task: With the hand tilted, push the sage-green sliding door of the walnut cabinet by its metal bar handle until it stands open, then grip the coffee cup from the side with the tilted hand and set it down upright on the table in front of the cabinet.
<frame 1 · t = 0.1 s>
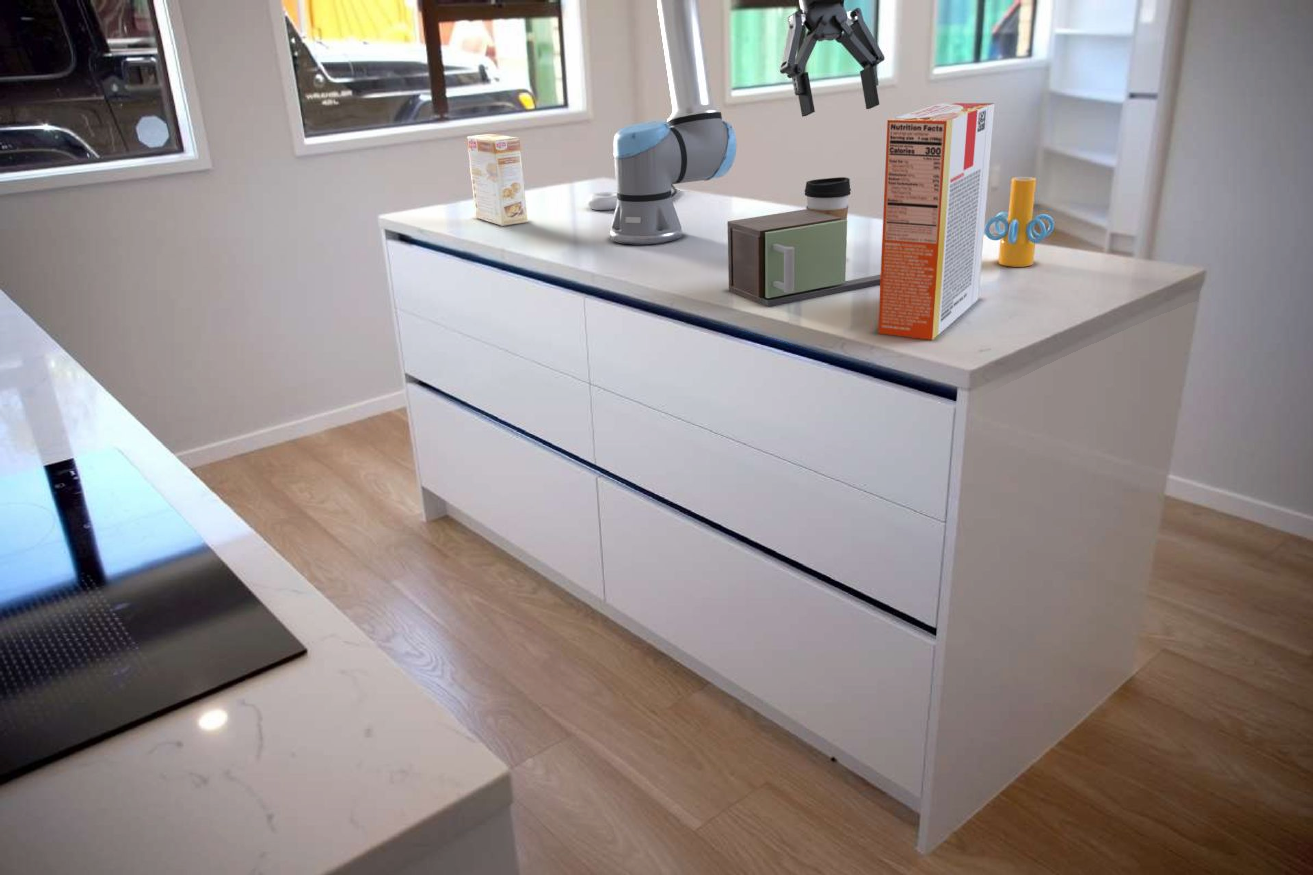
hand: (841, 111, 169), 28 cm above the worktop, tool tilted 20°, fingers open, 13 cm apart
cereal box: (930, 316, 153), on the worktop
coffeecake box: (501, 221, 241), on the worktop
coffee cup: (826, 261, 189), on the worktop
cylinder: (1015, 264, 180), on the worktop
donut: (607, 208, 249), on the worktop
door: (815, 261, 161), point 7 cm above the worktop, slide at 0.0 cm
cabinet: (783, 289, 171), on the worktop
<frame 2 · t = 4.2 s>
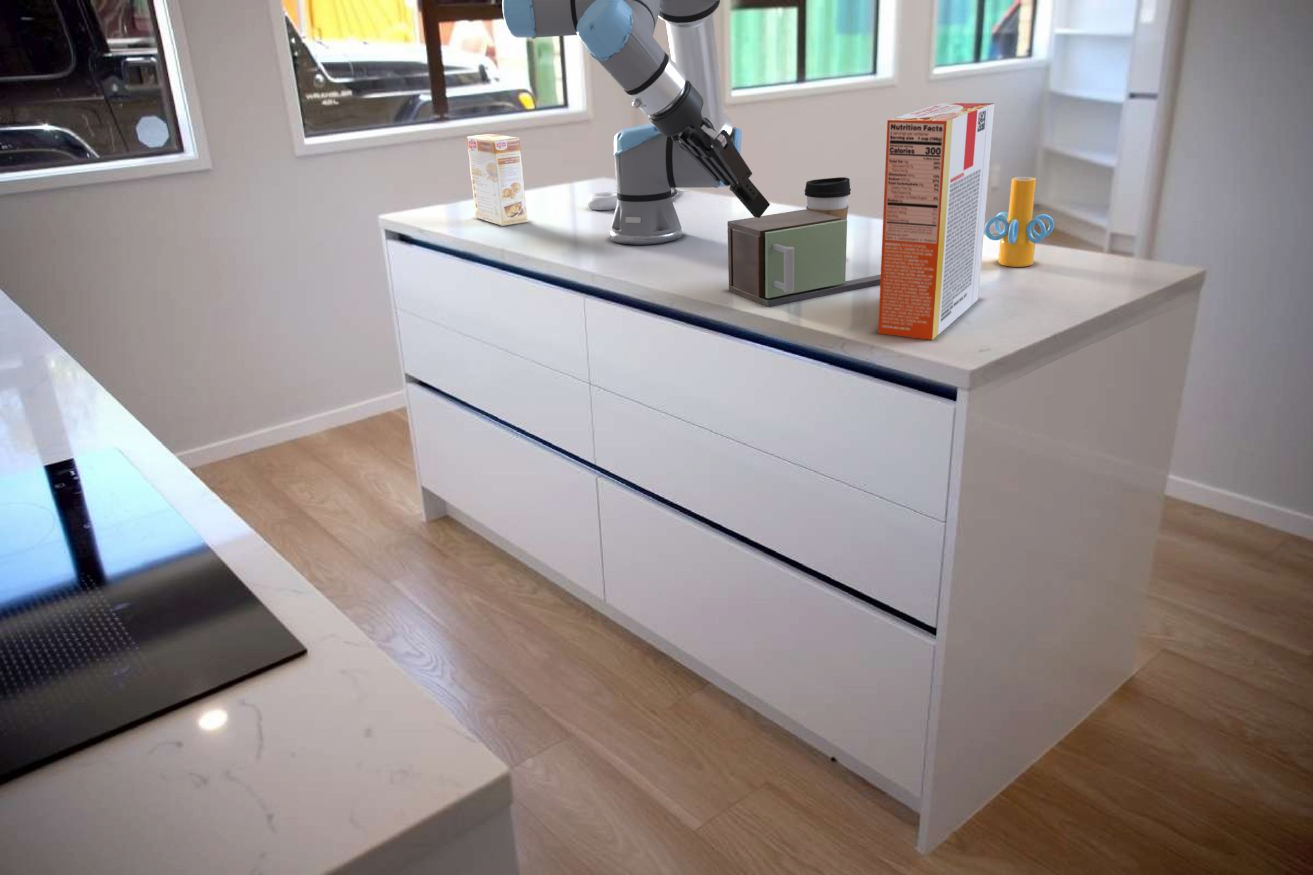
hand: (761, 210, 151), 16 cm above the worktop, tool tilted 40°, fingers closed
nothing on the worktop moved.
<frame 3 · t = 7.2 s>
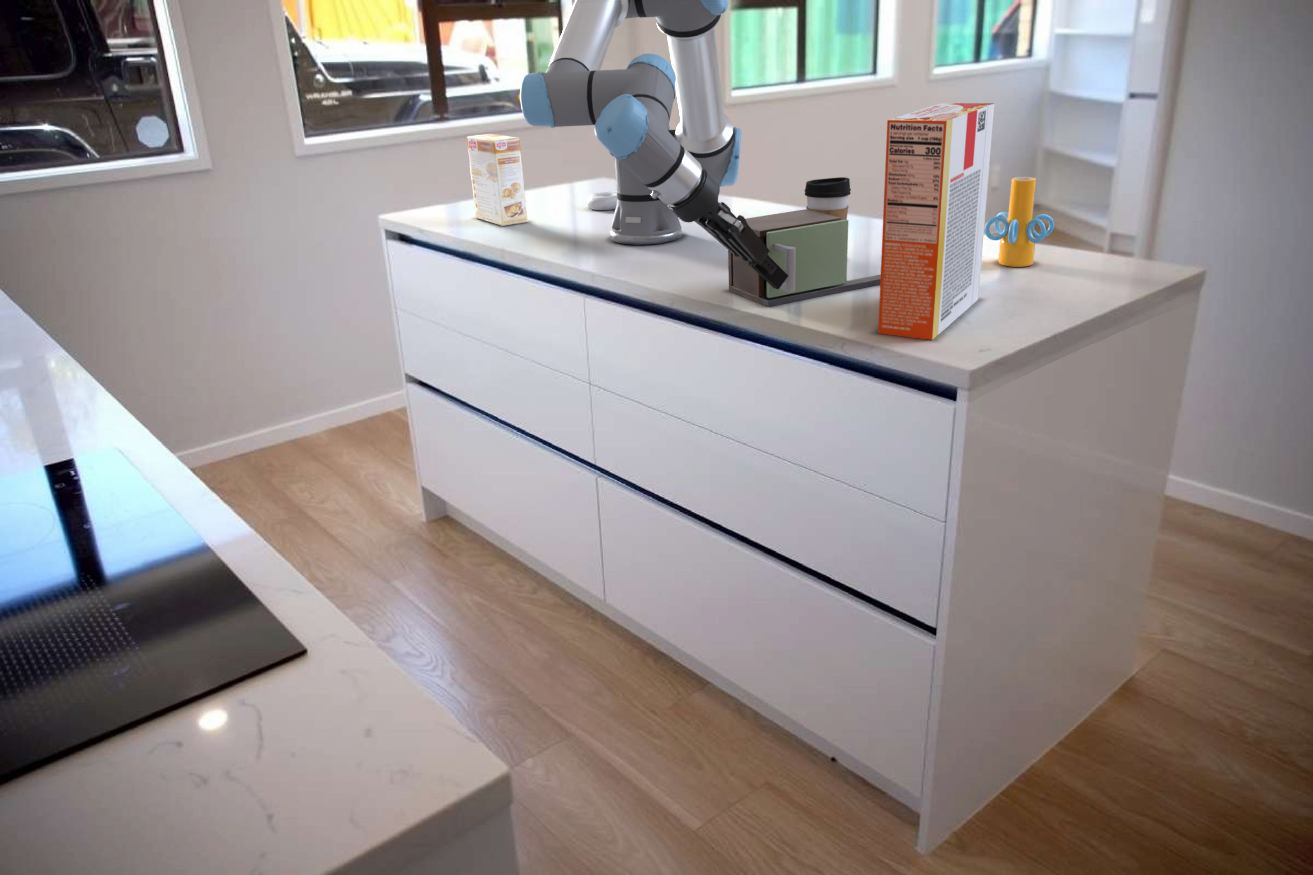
hand: (780, 281, 156), 5 cm above the worktop, tool tilted 45°, fingers closed
door: (816, 261, 161), point 7 cm above the worktop, slide at 0.3 cm, touching gripper
everything else where it was.
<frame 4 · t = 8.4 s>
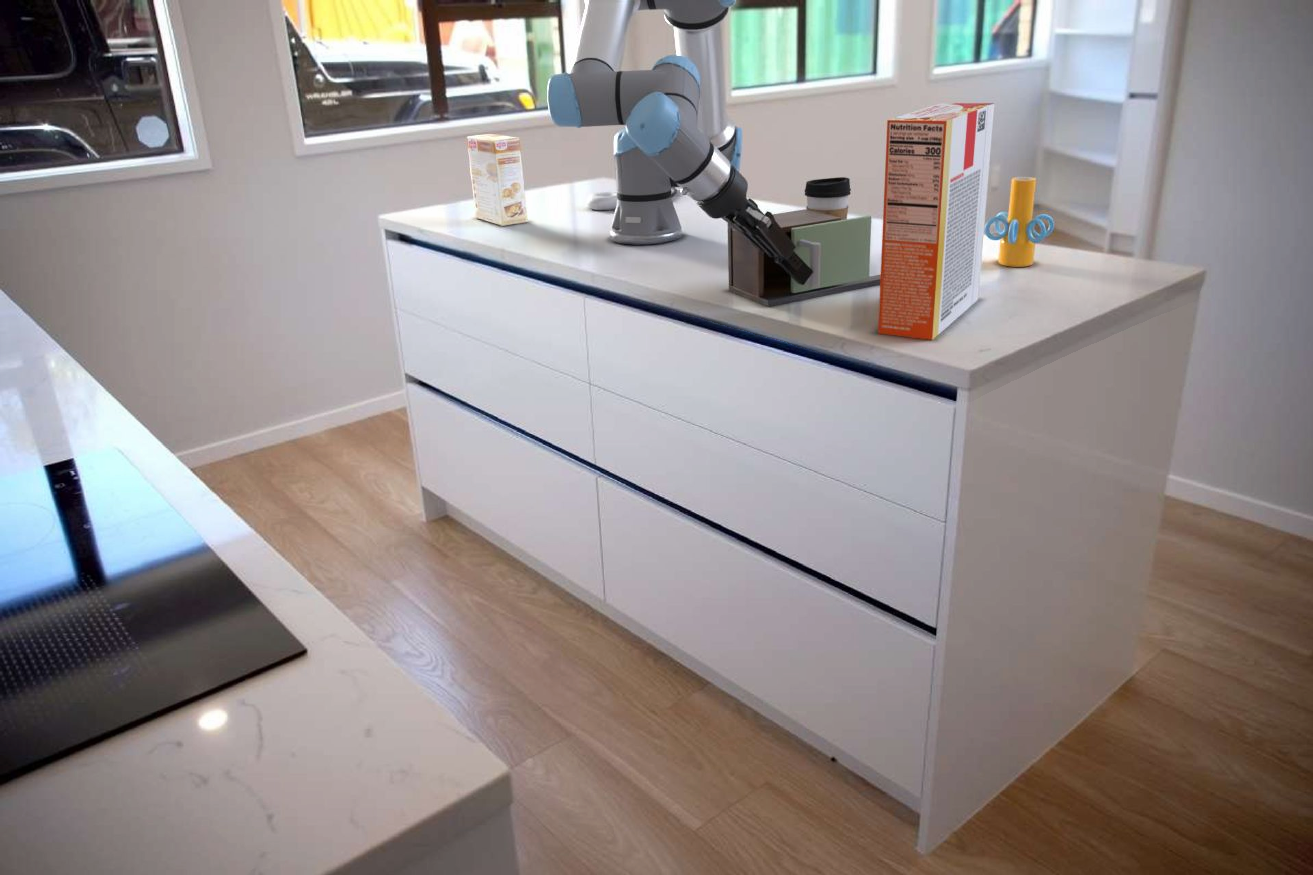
hand: (805, 277, 158), 5 cm above the worktop, tool tilted 45°, fingers closed
door: (840, 256, 163), point 7 cm above the worktop, slide at 5.0 cm, touching gripper
everything else where it was.
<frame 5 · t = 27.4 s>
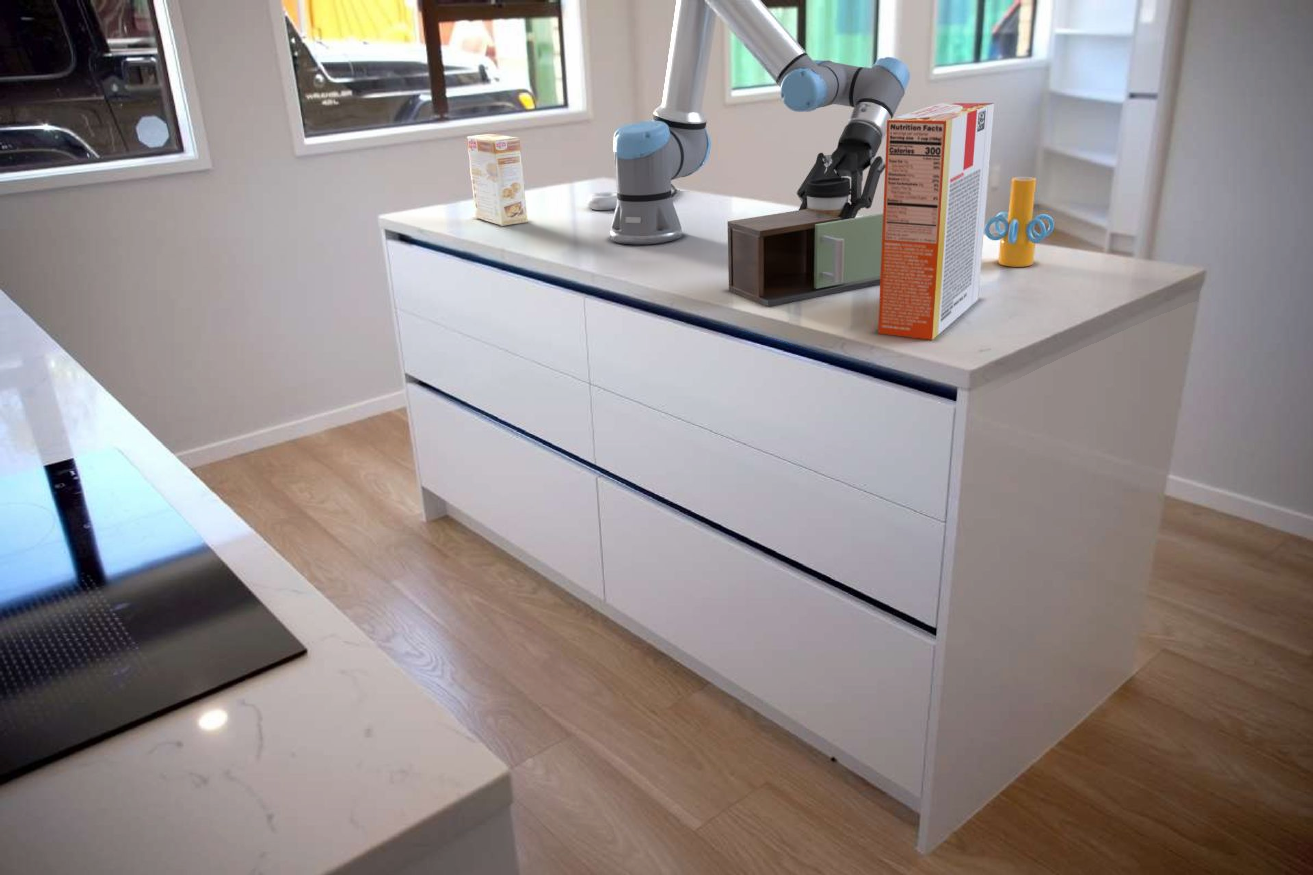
hand: (816, 234, 184), 6 cm above the worktop, tool tilted 45°, fingers closed on coffee cup, 8 cm apart
coffee cup: (826, 261, 189), on the worktop, touching gripper
door: (862, 252, 165), point 7 cm above the worktop, slide at 9.6 cm
everything else where it was.
when the fingers open (6 cm above the worktop, at t = 35.6 s): coffee cup stays where it is, on the worktop.
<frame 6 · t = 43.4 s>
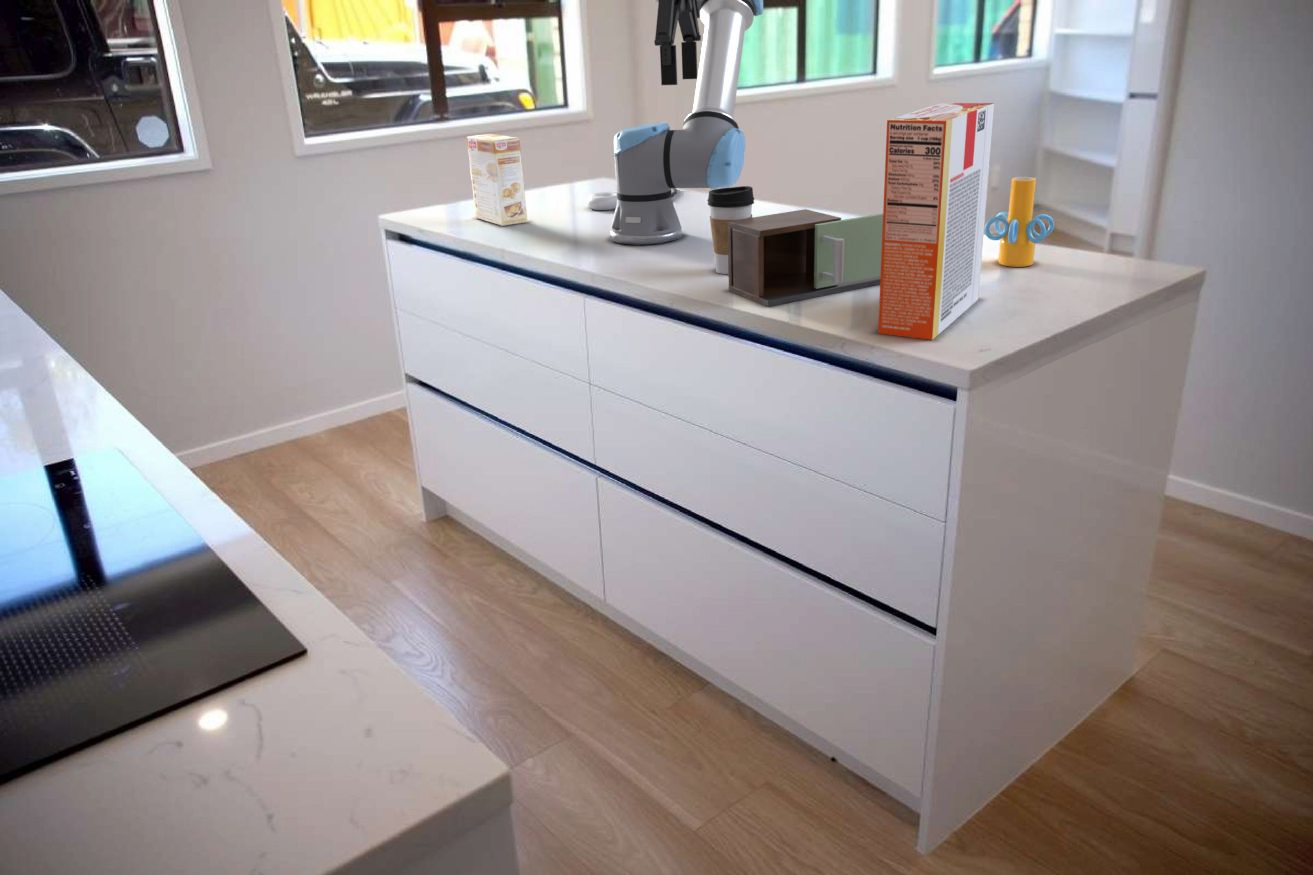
hand: (680, 82, 182), 33 cm above the worktop, tool pointing down, fingers open, 13 cm apart
coffee cup: (732, 271, 185), on the worktop
everything else where it was.
at the end: door slide at 9.6 cm; coffee cup inside the target area (0.1 cm from its centre), on the worktop; coffee cup tilted 0° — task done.
